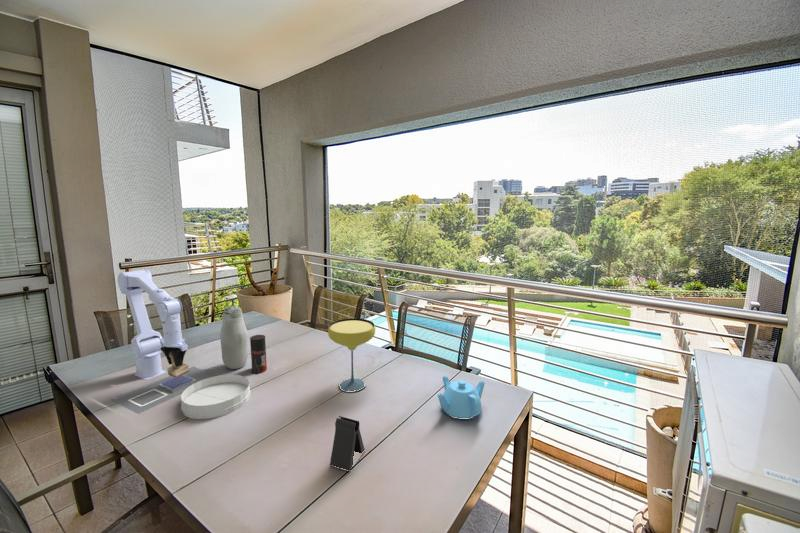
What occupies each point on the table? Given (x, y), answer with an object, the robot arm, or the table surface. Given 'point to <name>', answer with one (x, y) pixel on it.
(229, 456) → the table surface
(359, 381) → the cocktail glass
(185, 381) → the ink pad
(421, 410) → the table surface
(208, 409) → the dish
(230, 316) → the glass bottle
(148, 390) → the desk mat
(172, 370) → the stamp
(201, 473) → the table surface
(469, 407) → the teapot
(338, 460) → the phone stand
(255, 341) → the deodorant
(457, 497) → the table surface
